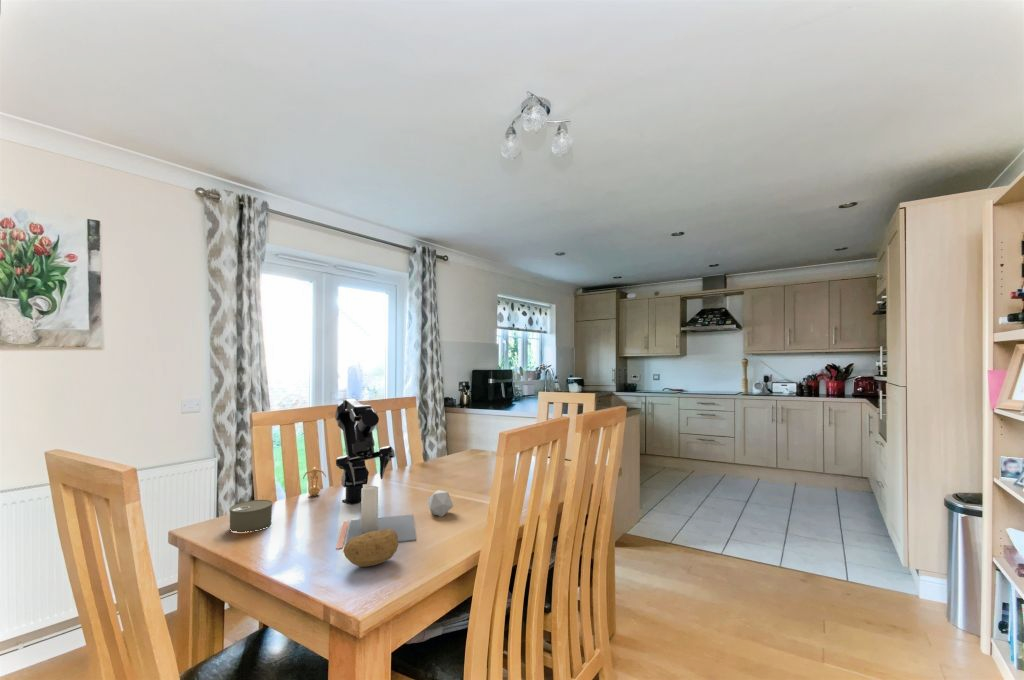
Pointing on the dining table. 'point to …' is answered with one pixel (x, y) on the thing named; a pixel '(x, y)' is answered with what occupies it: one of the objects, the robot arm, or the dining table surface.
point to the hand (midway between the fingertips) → (367, 482)
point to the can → (250, 515)
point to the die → (440, 503)
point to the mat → (388, 527)
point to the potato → (371, 548)
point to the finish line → (342, 535)
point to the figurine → (313, 489)
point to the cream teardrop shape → (369, 509)
